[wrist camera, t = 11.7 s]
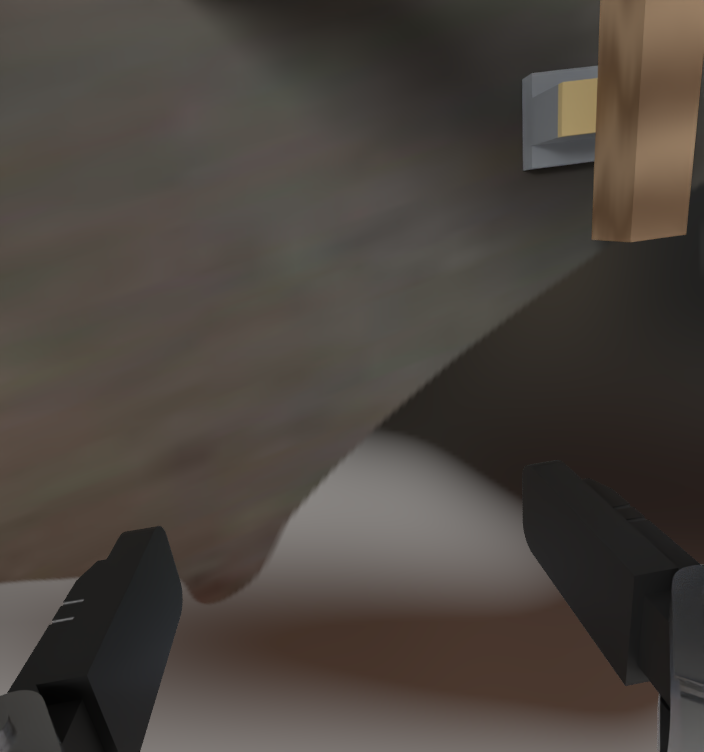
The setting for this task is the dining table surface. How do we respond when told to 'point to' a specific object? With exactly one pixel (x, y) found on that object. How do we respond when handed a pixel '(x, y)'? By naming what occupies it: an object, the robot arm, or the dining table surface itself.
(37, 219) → the dining table surface
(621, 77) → the walnut bar
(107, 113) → the dining table surface
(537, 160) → the ridge block
